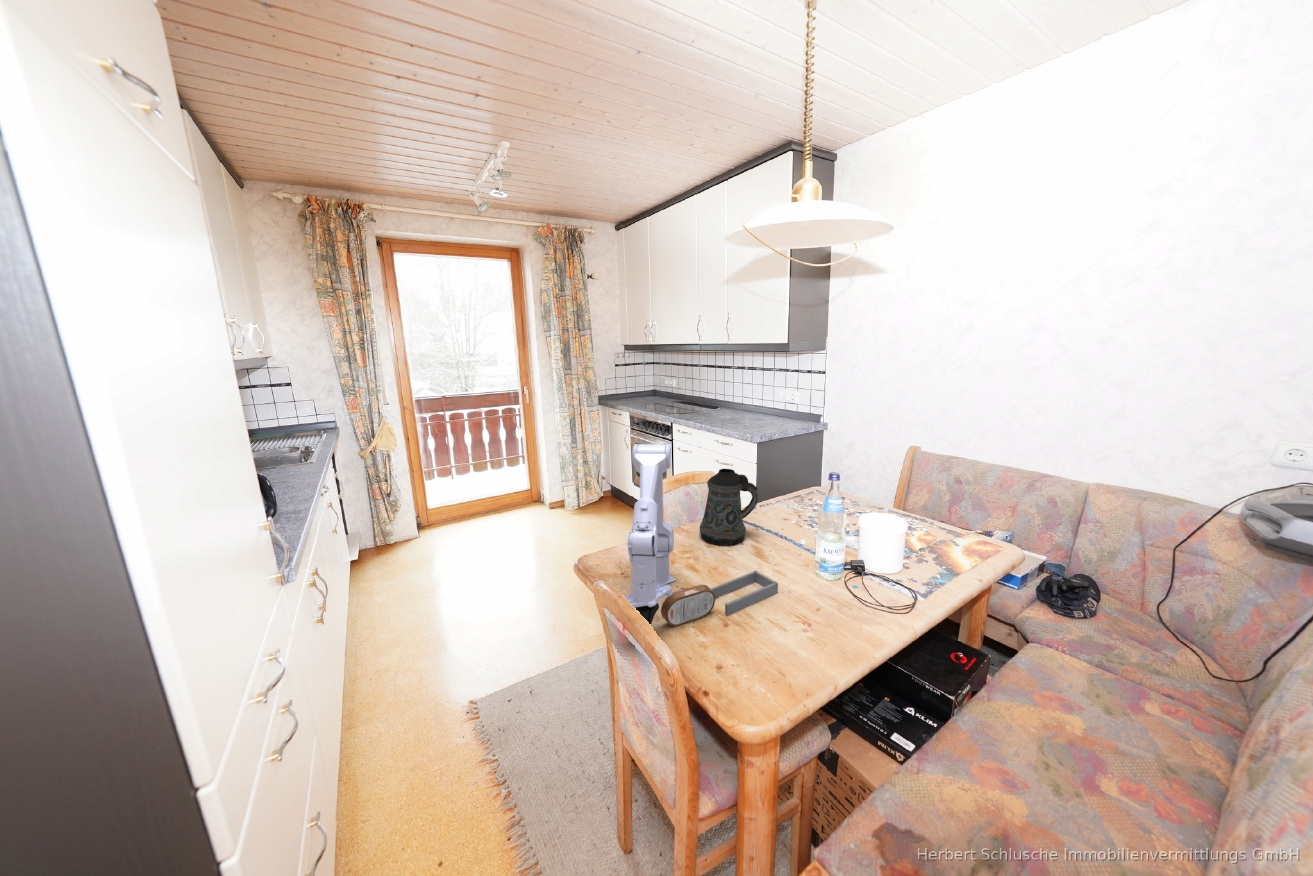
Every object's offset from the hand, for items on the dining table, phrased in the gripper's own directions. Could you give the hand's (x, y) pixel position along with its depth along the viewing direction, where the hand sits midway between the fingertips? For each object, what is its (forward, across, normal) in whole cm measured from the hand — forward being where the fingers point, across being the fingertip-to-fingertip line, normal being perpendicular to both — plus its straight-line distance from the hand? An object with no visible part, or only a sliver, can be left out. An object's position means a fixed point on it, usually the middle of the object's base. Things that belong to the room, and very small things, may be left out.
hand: (645, 630), depth 110 cm
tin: (+2, +13, 0) cm, 13 cm away
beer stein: (+2, +54, +32) cm, 63 cm away
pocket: (+2, +32, 0) cm, 32 cm away
